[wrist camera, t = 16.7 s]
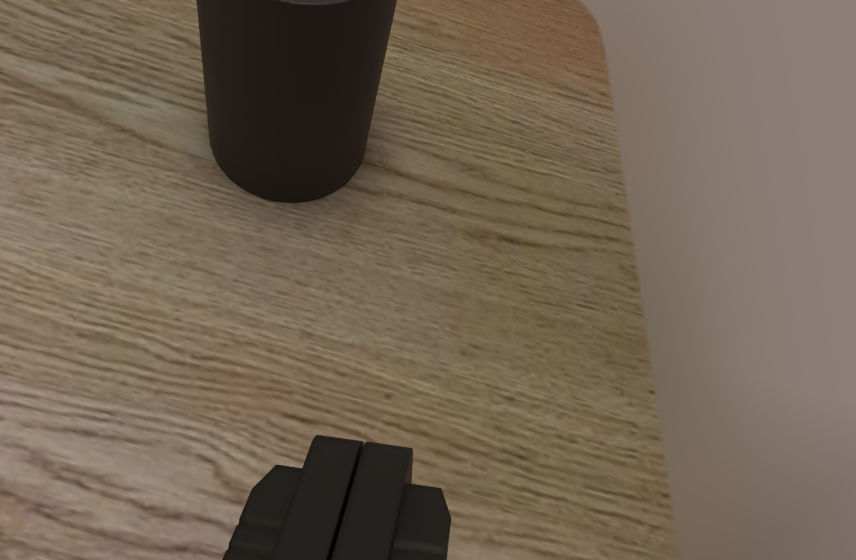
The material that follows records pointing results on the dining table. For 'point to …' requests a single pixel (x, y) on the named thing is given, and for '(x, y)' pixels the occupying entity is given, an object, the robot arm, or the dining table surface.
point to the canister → (292, 90)
